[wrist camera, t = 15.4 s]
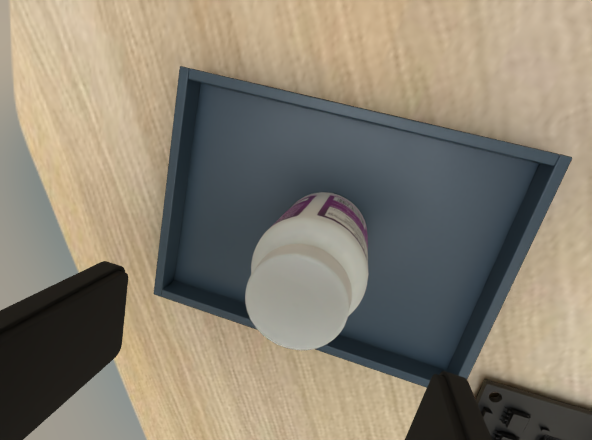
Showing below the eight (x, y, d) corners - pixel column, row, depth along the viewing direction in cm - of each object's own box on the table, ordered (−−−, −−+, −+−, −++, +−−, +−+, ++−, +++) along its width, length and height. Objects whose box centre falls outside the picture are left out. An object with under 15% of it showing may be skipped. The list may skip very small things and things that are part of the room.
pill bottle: (291, 272, 23) (238, 366, 14) (279, 195, 21) (212, 242, 12) (372, 268, 21) (374, 369, 12) (364, 186, 20) (360, 231, 11)
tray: (170, 281, 26) (153, 294, 24) (197, 72, 21) (179, 65, 19) (450, 375, 23) (458, 398, 21) (551, 154, 18) (573, 157, 16)
